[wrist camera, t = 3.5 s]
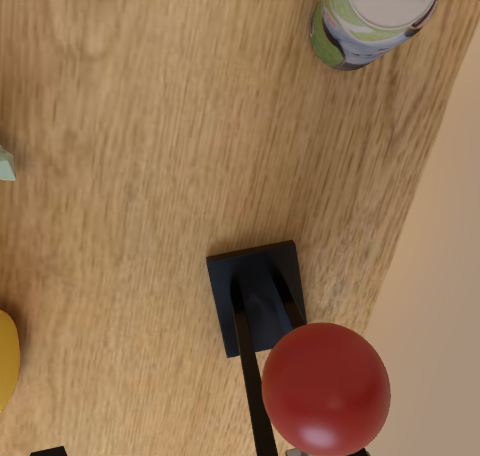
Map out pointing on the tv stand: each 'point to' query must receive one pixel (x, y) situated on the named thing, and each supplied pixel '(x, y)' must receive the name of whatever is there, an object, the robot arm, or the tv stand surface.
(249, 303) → the bracket
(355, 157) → the tv stand surface
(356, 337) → the lever
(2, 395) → the teapot
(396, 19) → the beverage can
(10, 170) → the pale green rounded lump
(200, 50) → the tv stand surface
